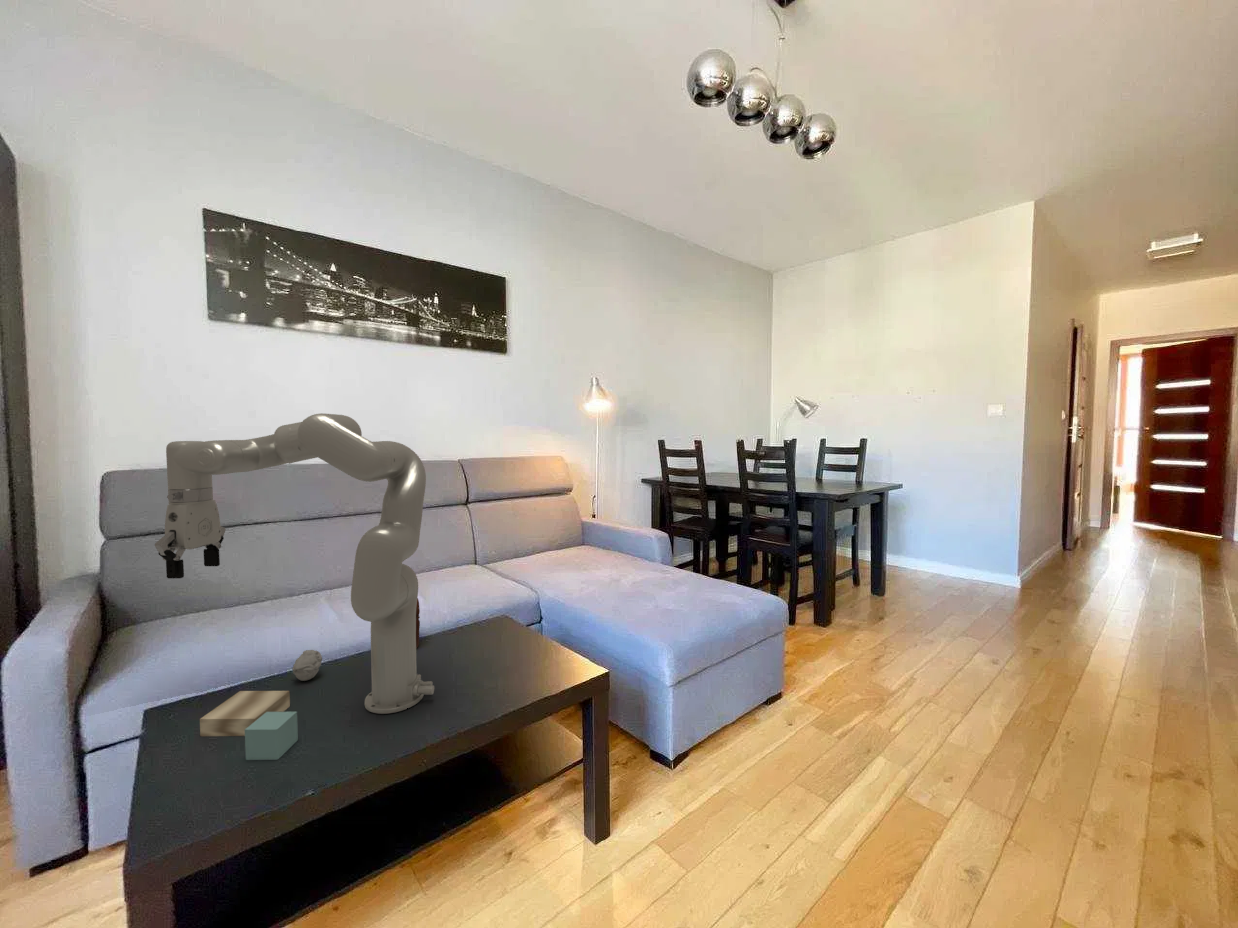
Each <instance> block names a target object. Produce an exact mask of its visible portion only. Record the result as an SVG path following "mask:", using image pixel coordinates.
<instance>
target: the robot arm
mask: <svg viewBox="0 0 1238 928" xmlns="http://www.w3.org/2000/svg"><path fill="white" fill-rule="evenodd" d="M362 434H363V433H362V428H361V426H360V424H359V423H358V422H357V421H356V420H355V419H353V418H352V417H350V416H349V415H343V414H336V413H335V414H334V413H314V414H311V415H310V416H307V417H306V418H304V419H303V420H302V421H299V422H293V423H289V424H284V425H283V424H282V425H280V426H278V427H277V428H276V429H275V431H274V432H273V434H269V435H264V436H259V437H254V438H248V439H223V440H219V439H218V440H206V441H202V440H182V441H181V440H180V441H179V440H177V441H176V440H175V441H171V442H169V443H168V444H167V445H166V446H165V447H166V450H165V453H166V455H165V456H166V476H167V477H166V478H167V479H166V480H167V497H166V498H167V499H168V504H167V505H166V506H167V507H166V510H165V511H166V512H165V520H164V536H162V537H161V538H159V540H157V541H156V542H155V543H154V548H155V549H156V550H157V552H158V555H159V556H160V557H161V558H162V560H163V561H164V562H165V569H166V573H165V574H166V578H167V579H183V578H184V576H185V572H184V571H185V569H184V559H182V556H183V555H184V553H185V551H186V550H194V549H198V548H201V547H202V548H203V547H204V549H203V565H204V567H218V566H220V565H221V563H220V549H221V548H222V542H223V541H224V535H225V533H226V530H227V529H226V527H224V526H222V525H221V518H220V514H219V513H220V512H219V508H218V505H217V501H216V500H215V499H214V493H213V492H214V491H213V490H214V489H213V475H214V476H216V475H217V476H218V475H219V476H220V475H227V474H229V475H230V474H235V473H236V474H237V473H238V474H239V473H246V472H253V471H259V470H263V469H267V468H273V467H277V466H282V465H285V464H295V463H298V462H302V461H307V460H311V459H316V458H318V459H320V460H321V461H323V462H325V463H327V464H329V466H332V467H333V468H334V469H335V468H336V469H337V470H339V471H341V472H343V473H344V474H346V475H348V476H350V477H351V478H353V479H356V480H358V481H362V482H367V483H368V482H370V483H371V482H378V481H382V480H387V487H386V490H385V492H384V495H383V499H382V506H381V507H382V509H381V514H380V519H379V523H378V525H375V526H374V527H372V528H370V529H368V530H367V531H366V532H365V533H364V534H363V535H362V537H361V538H360V540H359V542H358V544H357V547H356V551H355V557H354V564H353V574H352V579H351V580H352V582H351V587H350V589H351V590H350V604H351V608H352V611H353V612H354V614H356V616H357V617H358V618H359V619H361V620H363V621H365V622H370V662H371V663H370V664H371V666H370V667H371V668H370V669H371V692H370V693H368V694H367V695H366V696H365V698H364V707H365V709H366V710H367V711H368V712H371V713H373V714H379V715H380V714H381V715H384V714H385V715H386V714H393V713H398V712H402V711H405V710H407V708H408V709H409V708H411V707H414V706H415V705H416V704H418V703H419V702H420V701H421V700H422V699H423V698H424V695H425V696H426V695H434V692H435V685H433V681H431V680H430V681H429V680H428V681H423V680H422V675H421V674H418V673H417V672H418V671H417V648H416V606H417V598H418V596H419V579H418V576H417V574H416V572H415V571H414V570H413V569H412V567H410V566H409V565H407V564H404V563H403V562H404V561H406V560H408V559H409V558H410V557H411V556H413V555H414V554H415V552H416V551H417V549H418V547H419V544H420V535H421V527H422V517H423V511H424V510H423V509H424V500H425V493H426V485H427V475H426V470H425V466H424V462H423V461H422V459H421V458H420V457H419V455H418V454H417V453H416V452H415V451H414V450H413V449H411V448H410V447H408V446H407V445H406V444H403V443H400V442H397V441H391V440H380V441H371V440H369V439H368V438H366V437H364V436H362ZM175 551H176V552H175Z"/></svg>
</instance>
